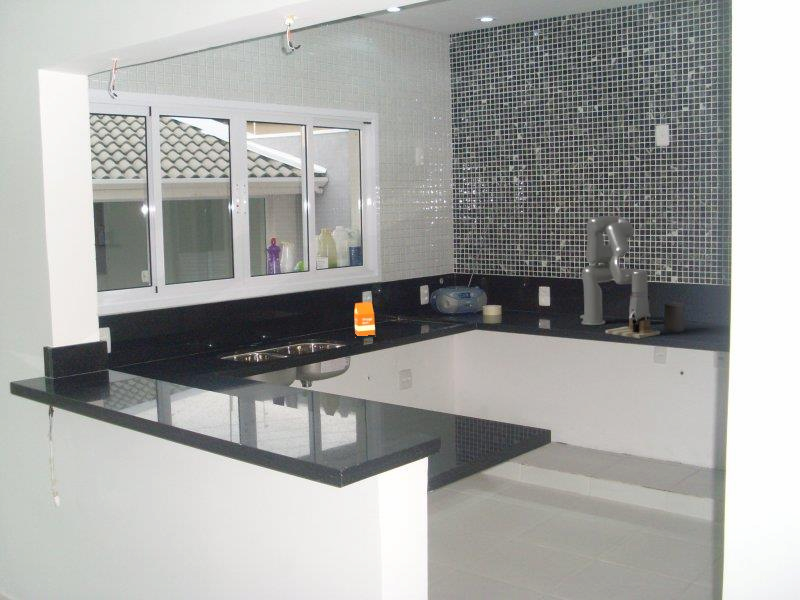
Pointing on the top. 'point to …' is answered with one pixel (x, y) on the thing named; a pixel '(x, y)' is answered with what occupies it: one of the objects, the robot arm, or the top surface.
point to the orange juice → (364, 319)
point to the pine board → (625, 332)
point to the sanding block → (641, 326)
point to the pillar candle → (674, 317)
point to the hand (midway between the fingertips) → (639, 331)
